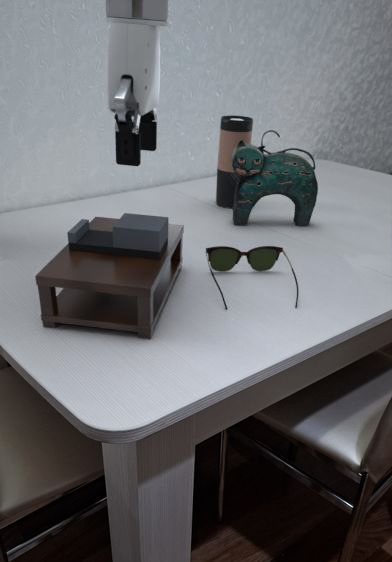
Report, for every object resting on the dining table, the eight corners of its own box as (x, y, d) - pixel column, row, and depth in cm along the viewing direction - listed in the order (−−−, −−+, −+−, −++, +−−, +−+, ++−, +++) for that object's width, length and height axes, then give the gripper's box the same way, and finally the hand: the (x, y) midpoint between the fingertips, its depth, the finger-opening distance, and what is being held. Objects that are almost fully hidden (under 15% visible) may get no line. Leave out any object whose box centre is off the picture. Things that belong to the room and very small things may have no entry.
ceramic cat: (227, 226, 112) (235, 130, 102) (223, 217, 118) (231, 125, 107) (314, 228, 114) (331, 134, 103) (306, 219, 120) (321, 128, 109)
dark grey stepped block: (68, 250, 76) (65, 222, 74) (83, 235, 81) (81, 208, 79) (159, 259, 75) (159, 231, 72) (168, 244, 80) (168, 217, 78)
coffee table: (41, 326, 72) (35, 275, 68) (98, 258, 94) (95, 216, 90) (150, 340, 71) (150, 288, 66) (182, 267, 92) (183, 225, 88)
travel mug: (246, 201, 130) (254, 116, 119) (243, 210, 123) (252, 121, 113) (217, 198, 131) (222, 114, 120) (212, 206, 124) (218, 119, 114)
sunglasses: (279, 270, 93) (283, 245, 90) (303, 314, 82) (309, 287, 79) (202, 271, 91) (204, 246, 88) (216, 316, 80) (219, 289, 77)
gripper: (125, 10, 69) (127, 142, 78) (83, 5, 54) (91, 168, 64) (179, 14, 68) (174, 147, 77) (151, 10, 54) (149, 174, 63)
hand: (137, 157), depth 71 cm, fingers open, 9 cm apart
